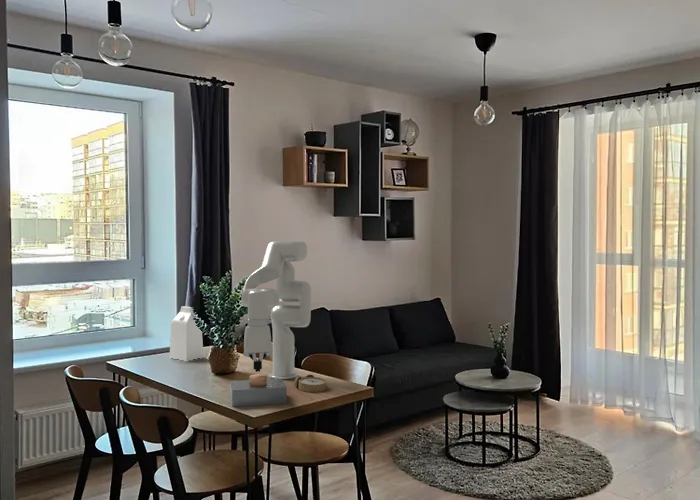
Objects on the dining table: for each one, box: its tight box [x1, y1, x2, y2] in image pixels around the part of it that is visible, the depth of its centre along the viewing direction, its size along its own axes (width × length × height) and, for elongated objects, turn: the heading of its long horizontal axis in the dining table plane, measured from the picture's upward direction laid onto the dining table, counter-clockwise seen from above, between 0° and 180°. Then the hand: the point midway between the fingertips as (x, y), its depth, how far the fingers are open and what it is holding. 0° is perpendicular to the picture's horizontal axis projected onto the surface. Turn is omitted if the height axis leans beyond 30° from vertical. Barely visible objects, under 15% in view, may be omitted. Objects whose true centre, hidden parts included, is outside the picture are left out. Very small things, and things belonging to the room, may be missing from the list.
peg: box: [248, 373, 268, 386], centre depth 246 cm, size 7×7×8 cm
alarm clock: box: [293, 374, 329, 393], centre depth 265 cm, size 11×5×15 cm
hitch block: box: [229, 378, 288, 408], centre depth 246 cm, size 15×20×6 cm
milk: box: [168, 305, 204, 362], centre depth 325 cm, size 12×12×26 cm
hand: (257, 371), depth 246 cm, fingers closed
